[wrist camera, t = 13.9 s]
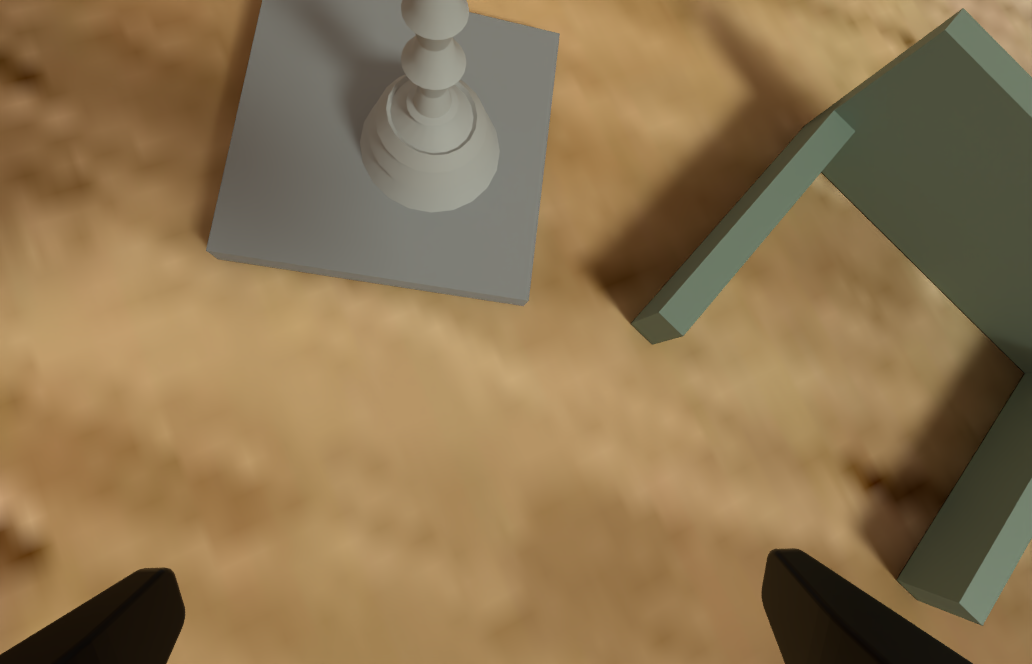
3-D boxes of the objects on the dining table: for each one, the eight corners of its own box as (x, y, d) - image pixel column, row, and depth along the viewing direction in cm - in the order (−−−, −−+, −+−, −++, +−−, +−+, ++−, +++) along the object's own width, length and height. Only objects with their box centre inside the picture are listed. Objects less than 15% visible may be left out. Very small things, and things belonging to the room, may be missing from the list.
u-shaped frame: (917, 600, 21) (1156, 693, 14) (630, 323, 20) (733, 282, 14) (1054, 372, 24) (1309, 358, 17) (805, 124, 23) (963, 8, 16)
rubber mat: (523, 305, 20) (528, 300, 19) (217, 258, 18) (205, 250, 17) (553, 50, 22) (559, 33, 21) (277, -14, 20) (270, -36, 19)
